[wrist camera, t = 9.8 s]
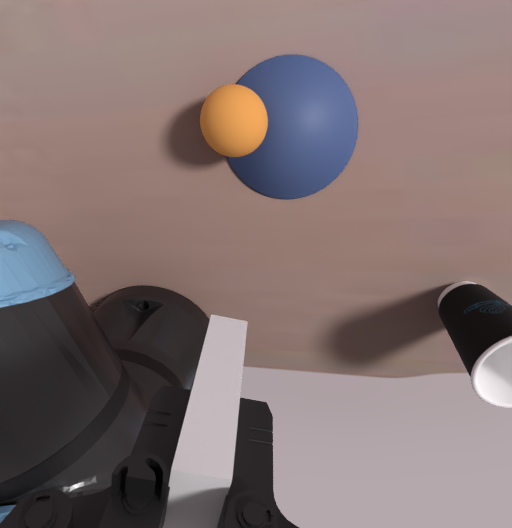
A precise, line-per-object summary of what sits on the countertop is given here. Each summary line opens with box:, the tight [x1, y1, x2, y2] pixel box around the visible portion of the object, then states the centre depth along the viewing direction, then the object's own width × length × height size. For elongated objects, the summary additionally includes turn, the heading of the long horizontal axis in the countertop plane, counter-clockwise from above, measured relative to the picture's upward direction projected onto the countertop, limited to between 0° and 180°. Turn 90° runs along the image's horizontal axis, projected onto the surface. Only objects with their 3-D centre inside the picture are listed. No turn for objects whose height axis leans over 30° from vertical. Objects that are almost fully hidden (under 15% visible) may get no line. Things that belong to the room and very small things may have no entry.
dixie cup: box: [438, 281, 512, 408], centre depth 34 cm, size 8×8×11 cm
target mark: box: [227, 55, 358, 199], centre depth 32 cm, size 12×12×1 cm
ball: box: [200, 84, 268, 157], centre depth 29 cm, size 6×6×6 cm
